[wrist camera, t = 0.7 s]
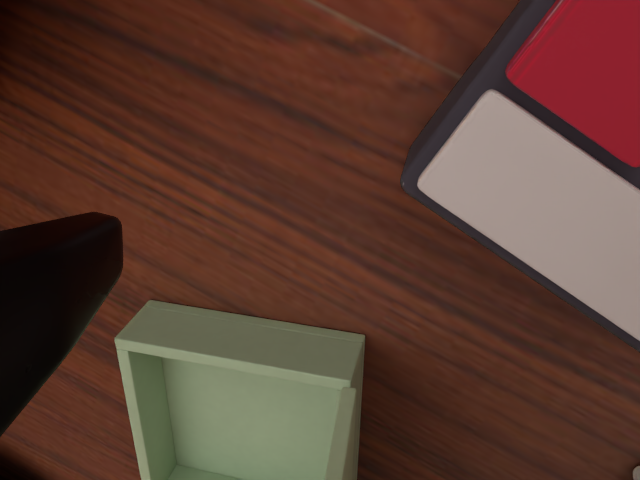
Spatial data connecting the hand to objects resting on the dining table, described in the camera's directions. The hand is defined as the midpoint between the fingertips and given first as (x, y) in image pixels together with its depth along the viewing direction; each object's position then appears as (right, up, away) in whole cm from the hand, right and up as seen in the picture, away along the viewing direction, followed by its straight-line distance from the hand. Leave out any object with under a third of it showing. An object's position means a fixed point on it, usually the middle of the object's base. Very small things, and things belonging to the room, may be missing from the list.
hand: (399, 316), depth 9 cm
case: (-4, -7, +22) cm, 23 cm away
